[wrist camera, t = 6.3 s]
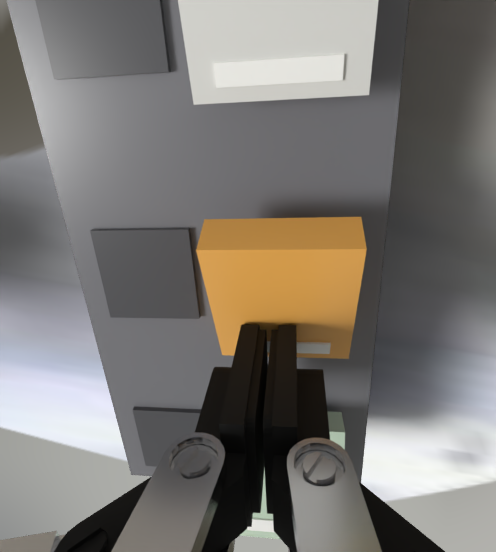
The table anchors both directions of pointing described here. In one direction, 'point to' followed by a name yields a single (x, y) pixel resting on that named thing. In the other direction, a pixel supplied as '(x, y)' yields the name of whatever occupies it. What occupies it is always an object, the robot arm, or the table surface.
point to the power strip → (195, 196)
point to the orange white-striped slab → (285, 279)
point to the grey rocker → (278, 48)
